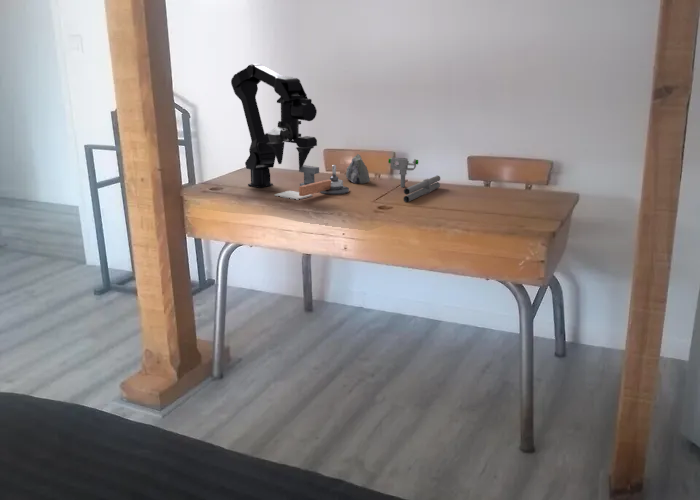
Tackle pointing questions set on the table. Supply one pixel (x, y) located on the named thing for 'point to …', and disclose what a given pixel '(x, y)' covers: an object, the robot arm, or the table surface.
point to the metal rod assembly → (426, 189)
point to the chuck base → (336, 191)
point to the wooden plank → (322, 185)
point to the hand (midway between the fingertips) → (290, 165)
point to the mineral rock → (357, 171)
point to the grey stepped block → (308, 174)
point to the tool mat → (292, 195)
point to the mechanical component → (402, 167)
